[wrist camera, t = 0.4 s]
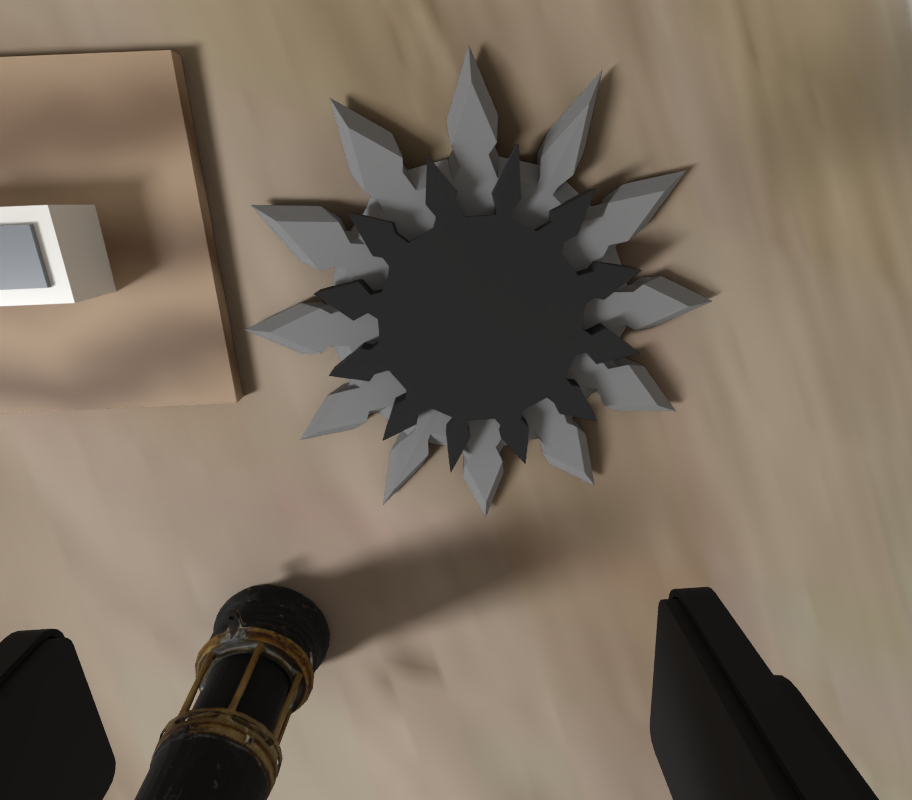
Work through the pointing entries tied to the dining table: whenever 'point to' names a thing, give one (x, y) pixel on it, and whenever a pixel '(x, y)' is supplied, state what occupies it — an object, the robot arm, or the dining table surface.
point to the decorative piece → (477, 294)
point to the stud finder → (52, 255)
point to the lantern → (241, 699)
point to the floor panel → (115, 237)
